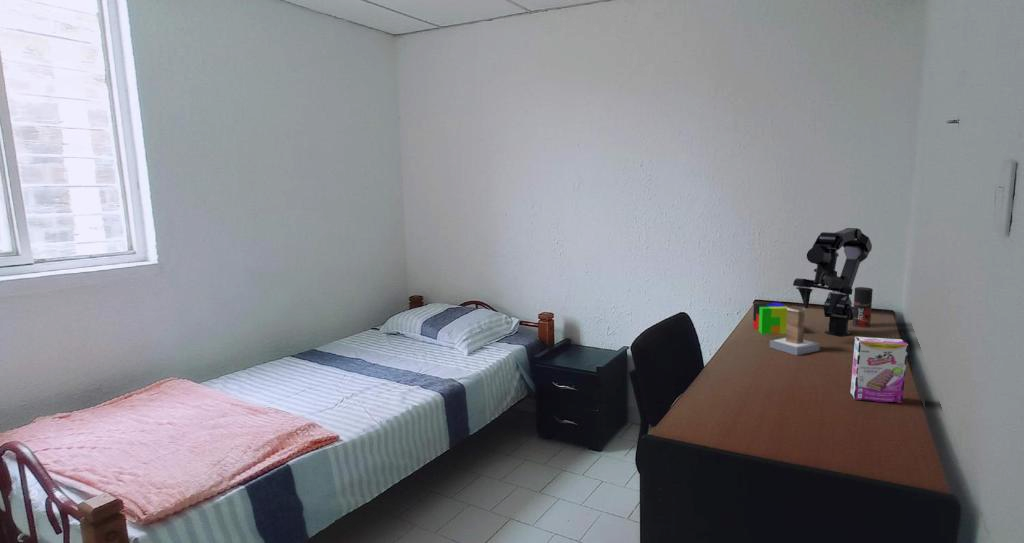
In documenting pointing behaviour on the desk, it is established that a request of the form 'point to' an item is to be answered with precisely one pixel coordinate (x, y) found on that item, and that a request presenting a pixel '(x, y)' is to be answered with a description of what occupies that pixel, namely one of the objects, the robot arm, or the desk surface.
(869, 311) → the deodorant
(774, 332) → the puzzle toy
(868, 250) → the robot arm
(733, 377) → the desk surface
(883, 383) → the candy bar box
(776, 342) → the plinth
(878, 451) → the desk surface
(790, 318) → the beige rectangular block
